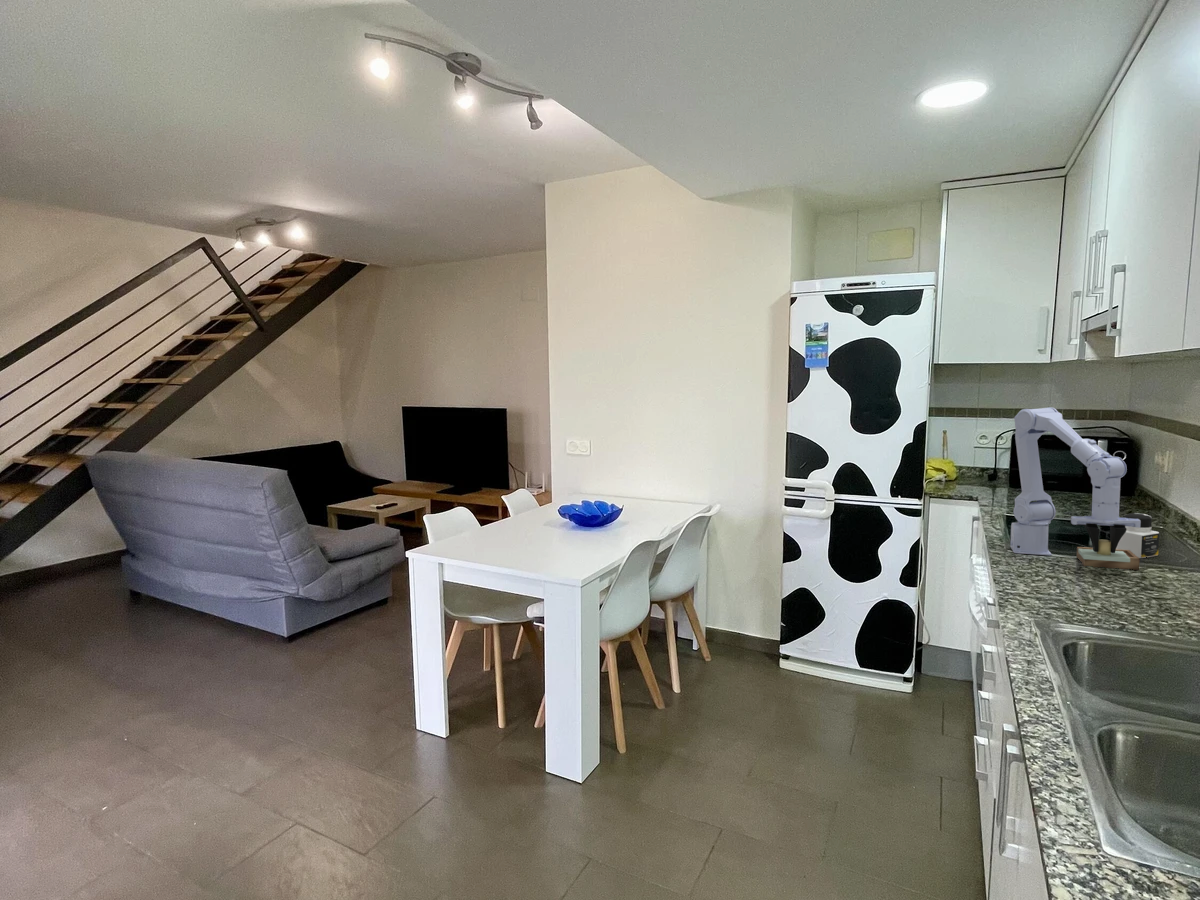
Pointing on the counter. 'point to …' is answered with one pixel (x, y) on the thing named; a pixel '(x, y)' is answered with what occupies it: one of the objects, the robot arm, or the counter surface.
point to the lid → (1104, 553)
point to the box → (1111, 564)
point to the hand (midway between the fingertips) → (1103, 551)
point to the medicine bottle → (1140, 537)
